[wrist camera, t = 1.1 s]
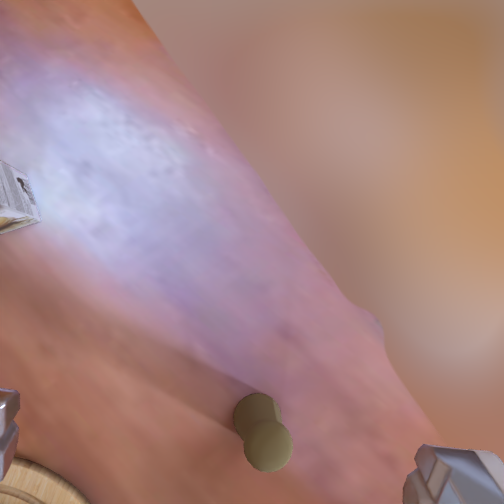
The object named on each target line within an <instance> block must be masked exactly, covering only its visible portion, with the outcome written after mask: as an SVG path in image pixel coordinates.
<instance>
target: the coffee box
mask: <svg viewBox="0 0 504 504" xmlns="http://www.w3.org/2000/svg"><path fill="white" fill-rule="evenodd" d="M41 221H42V219H41V216H40V213H39V210H38V207H37V204H36V201H35V198H34V195H33V192H32V189H31V186H30V183H29V180H28V178H27V175H25V174H23V173H21V172H20V171H18V170H16V169H15V168H13V167H11V166H9V165H7V164H6V163H4V162H2V161H1V160H0V234H3V233H6V232H9V231H12V230H16V229H19V228H22V227H25V226H28V225H31V224H35V223H38V222H41Z"/></svg>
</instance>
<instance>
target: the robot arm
mask: <svg viewBox="0 0 504 504" xmlns="http://www.w3.org/2000/svg"><path fill="white" fill-rule="evenodd" d="M19 409H20V393H19V392H18V391H17V390H11V389H5V388H0V482H1V481H3V479H4V477H5V476H6V474H7V472H8V470H9V468H10V466H11V463H12V460H13V458H14V455H15V452H16V448H17V443H18V436H19V427H18V426H17V424H16V423H15V422H14V420H13V419H14V417H15V416H16V414H17V412H18V411H19ZM414 460H415V462H416V465H417V467H418V468H417V469H415V470H414V471H413V472H411V473H410V474H409V475H407V478H406V481H405V484H404V487H403V504H504V463H503V462H502V461H501V459H500V458H499V457H498V456H497V455H496V454H494V453H493V452H491V451H482V450H473V449H468V450H466V449H459V448H450V447H443V446H435V445H427V444H423V445H422V446H421V447H420V448H419V449H418V451H417V453H416V455H415V458H414Z"/></svg>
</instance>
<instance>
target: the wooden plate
mask: <svg viewBox="0 0 504 504" xmlns="http://www.w3.org/2000/svg"><path fill="white" fill-rule="evenodd" d="M0 504H91V503H90V502H89V501H88V500H87V498H86V497H85V496H84V495H83V494H82V493H81V492H80V491H79V490H78V489H77V488H76V487H75V486H73V485H72V484H71V483H70V482H68V481H67V480H66V479H64V478H63V477H62V476H60V475H59V474H57V473H55V472H53V471H52V470H50V469H48V468H46V467H44V466H42V465H39V464H37V463H34V462H31V461H29V460H25V459H21V458H17V457H14V458H13V460H12V463H11V466H10V468H9V470H8V472H7V474H6V476H5V477H4V479H3V481H1V482H0Z"/></svg>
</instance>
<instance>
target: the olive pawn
mask: <svg viewBox="0 0 504 504" xmlns="http://www.w3.org/2000/svg"><path fill="white" fill-rule="evenodd" d="M233 419H234V426H235V428H236V430H237V432H238V434H239V435H240V437H241V438H242V439H243V441H244V453H245V456H246V458H247V460H248V462H249V463H250V464H251V465H252V466H253V467H254V468H256V469H258V470H259V471H262V472H275V471H277V470H279V469H281V468H283V467H284V466H285V465H286V464H287V463H288V461H289V459H290V457H291V454H292V450H293V443H292V438H291V435H290V433H289V431H288V430H287V428H286V427H285V426H284V425H283V424H282V419H281V412H280V409H279V407H278V404H277V403H276V402H275V401H274V400H273V398H271V397H269V396H267V395H265V394H260V393H257V394H251V395H249V396H246V397H244V398H243V399H242V400H241V401H240V402H239V403H238V405H237V407H236V409H235V412H234V416H233Z"/></svg>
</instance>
